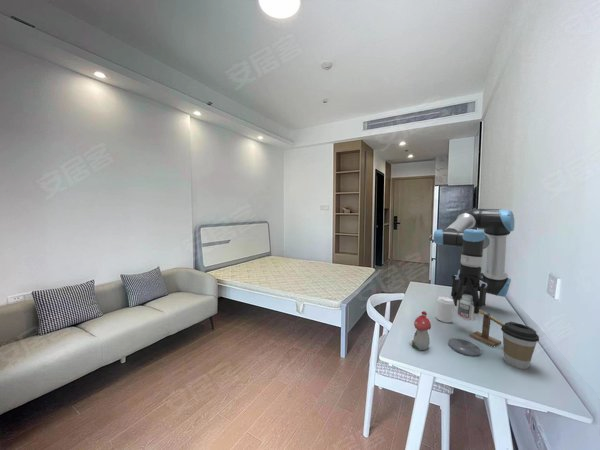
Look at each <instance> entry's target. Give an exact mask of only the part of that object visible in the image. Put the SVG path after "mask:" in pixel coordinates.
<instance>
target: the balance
mask: <svg viewBox="0 0 600 450" xmlns="http://www.w3.org/2000/svg"><path fill="white" fill-rule="evenodd" d="M479 313H480V314H481V315H483V320H482V327H481V328H482V330H481V331H479V330H476V331H474V332H471V333H469V334H468V337H470V338H472V339H474V340H477V341H478V340H479V341H478V342H480V341H481V342H480V343H482V344H485V345H487V344H488V345H487V346H489V345H490V346H489V347H491V346H492V348H495V347H497V346H499V344H500V345H502V341H501V340H499V339H497V338H494V337H492V336H490V328H491V327H490V326H491V320H492V321H493V323H496V324H498V325H500V326H501V327H502V326H503V325H505V323H503V322H502V321H499V320H498V319H496V318H495V317H494V316H492V315H491V314H490V313H487V312H485V311H484V310H482V309H480V308H479ZM479 313H478V314H479ZM512 322H513V323H517V322H515V321H512ZM494 346H495V347H494Z"/></svg>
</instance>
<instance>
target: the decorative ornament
mask: <svg viewBox="0 0 600 450" xmlns="http://www.w3.org/2000/svg"><path fill="white" fill-rule="evenodd" d="M427 315H428V312H427V311H424V310H423V311H421V314H420V315H418V316H417V317H416V318H415V320H414V321H413V325H414V328H415V329H416V330H415V332H414V335H413V340H411V346H412V347H413V348H415V350H419V351H427V349H429V347H430V344H431V341H430V334H429V332H428V330H431V328H432V323H431V321H430V319H429V318H428V316H427Z"/></svg>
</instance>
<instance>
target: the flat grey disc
mask: <svg viewBox="0 0 600 450" xmlns="http://www.w3.org/2000/svg"><path fill="white" fill-rule="evenodd" d="M447 346H448V347H449V348H450V349H451V350H452V351H454V352H456V353H458V354H460V355H463V356H467V357H474V358H477V357H479V355H480V354H482V349H481V348H480V347H479V346H478V345H477V344H476V343H473V342H471V341H469V340H466V339H463V338H456V337H455V338H449V339H448V342H447ZM476 356H477V357H476ZM480 356H481V355H480Z"/></svg>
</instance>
